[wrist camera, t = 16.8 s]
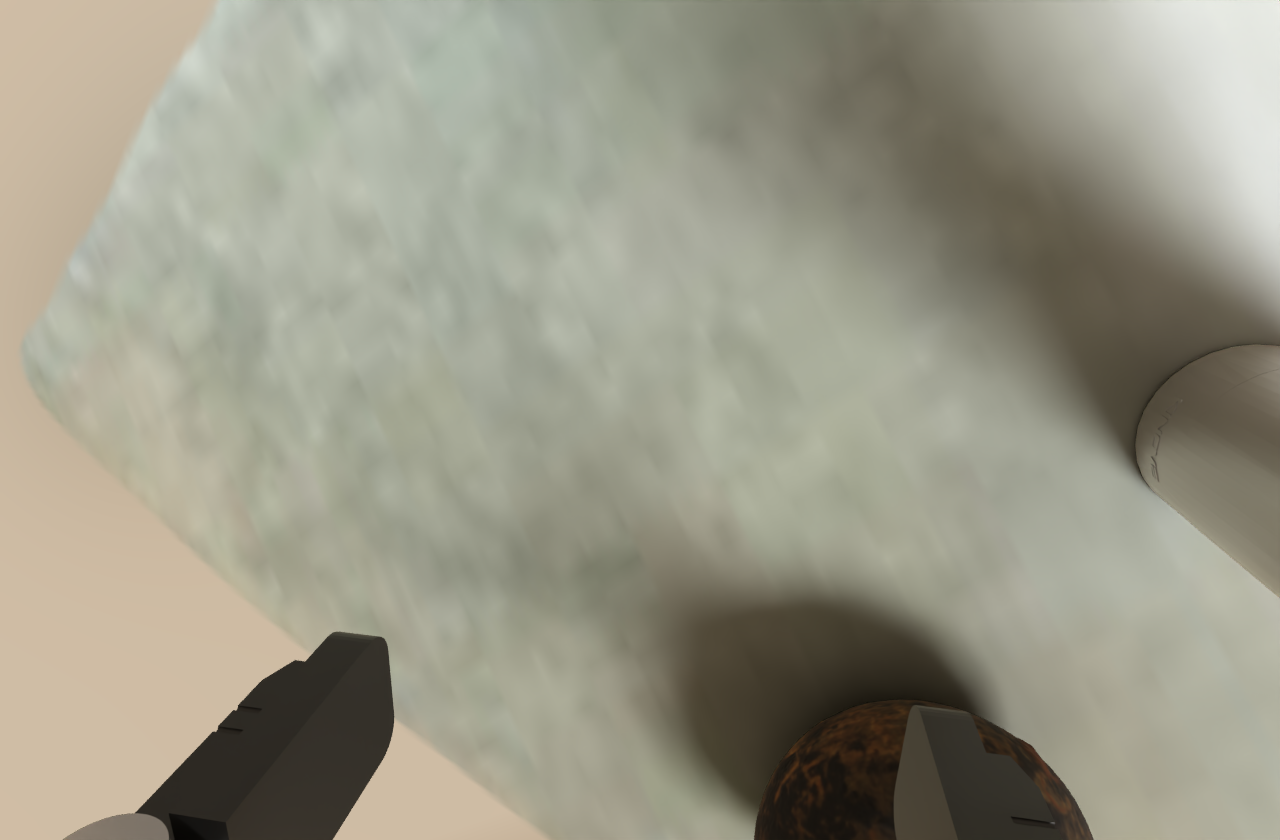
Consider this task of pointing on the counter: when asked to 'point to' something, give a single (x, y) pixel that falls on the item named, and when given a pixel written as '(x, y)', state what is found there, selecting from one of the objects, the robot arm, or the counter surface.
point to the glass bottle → (878, 777)
